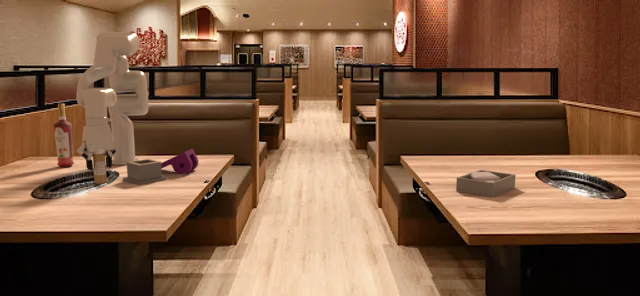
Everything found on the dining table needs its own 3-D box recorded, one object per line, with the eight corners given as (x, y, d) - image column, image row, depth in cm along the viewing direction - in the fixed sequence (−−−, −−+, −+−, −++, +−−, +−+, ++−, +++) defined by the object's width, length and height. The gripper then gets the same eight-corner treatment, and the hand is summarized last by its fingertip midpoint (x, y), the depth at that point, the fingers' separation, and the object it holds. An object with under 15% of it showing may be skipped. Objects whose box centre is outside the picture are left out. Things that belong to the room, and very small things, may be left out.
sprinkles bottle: (95, 181, 200) (93, 147, 198) (108, 181, 201) (106, 147, 199) (92, 184, 196) (90, 149, 194) (105, 183, 197) (103, 148, 195)
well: (122, 180, 203) (121, 161, 202) (150, 175, 212) (149, 158, 211) (138, 184, 195) (137, 165, 194) (166, 179, 204) (165, 161, 203)
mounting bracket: (157, 187, 217) (193, 170, 214) (148, 169, 216) (184, 151, 213) (166, 182, 226) (201, 165, 223) (157, 165, 226) (192, 148, 223)
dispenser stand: (456, 191, 186) (456, 177, 185) (479, 182, 200) (480, 169, 199) (492, 197, 177) (493, 183, 176) (514, 187, 191) (515, 174, 190)
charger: (481, 193, 180) (466, 184, 195) (507, 192, 181) (490, 183, 196) (481, 180, 180) (467, 172, 195) (507, 179, 180) (490, 171, 195)
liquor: (78, 165, 234) (73, 103, 230) (68, 168, 227) (64, 104, 223) (63, 164, 235) (58, 103, 231) (53, 167, 228) (48, 104, 224)
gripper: (114, 119, 204) (116, 164, 206) (69, 123, 191) (72, 170, 194) (123, 121, 199) (125, 166, 201) (77, 124, 186) (81, 173, 189)
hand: (99, 168), depth 198 cm, fingers open, 6 cm apart
